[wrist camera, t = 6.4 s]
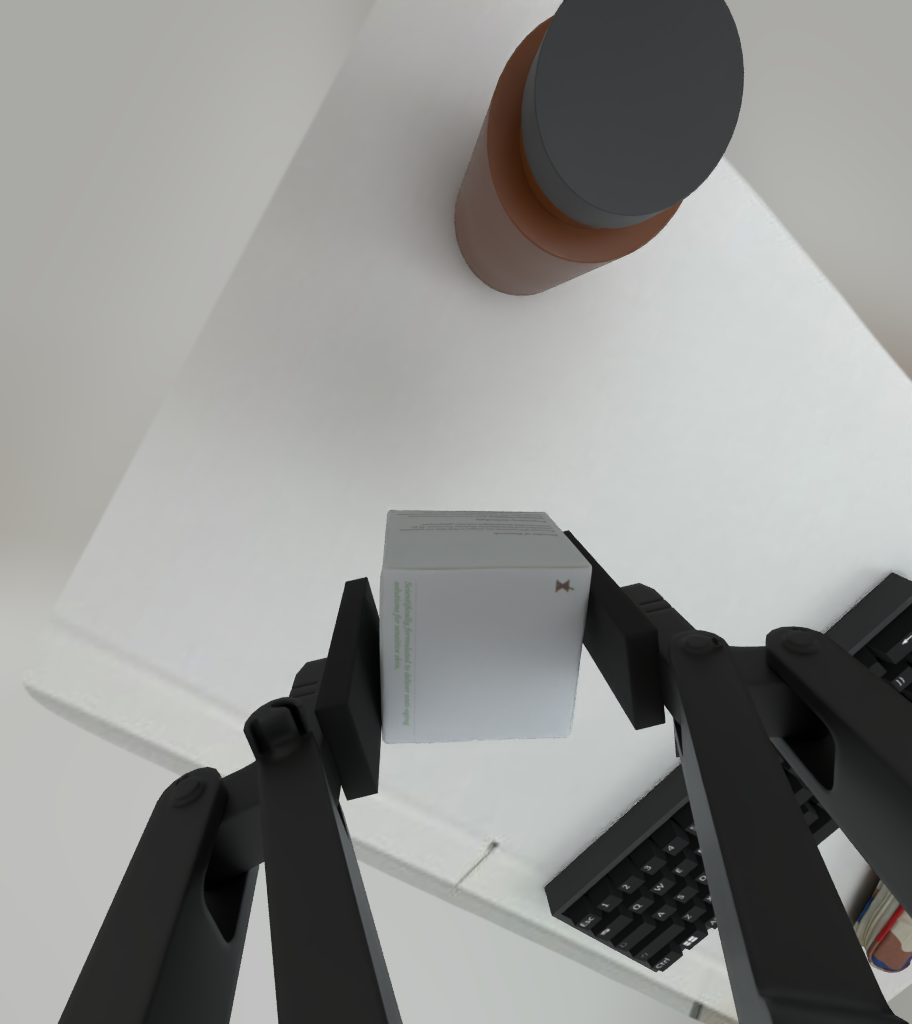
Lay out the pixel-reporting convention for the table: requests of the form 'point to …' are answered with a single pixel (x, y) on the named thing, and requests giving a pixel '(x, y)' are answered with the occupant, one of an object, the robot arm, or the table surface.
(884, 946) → the pencil case
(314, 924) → the robot arm
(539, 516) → the small box
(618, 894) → the computer keyboard
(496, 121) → the bottle
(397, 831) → the table surface
